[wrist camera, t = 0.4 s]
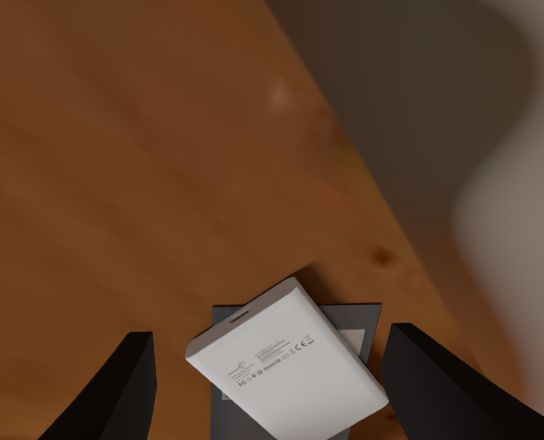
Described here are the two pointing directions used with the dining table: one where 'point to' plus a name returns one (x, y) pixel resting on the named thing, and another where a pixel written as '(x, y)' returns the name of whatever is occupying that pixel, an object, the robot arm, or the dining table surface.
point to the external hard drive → (288, 366)
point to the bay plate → (350, 325)
